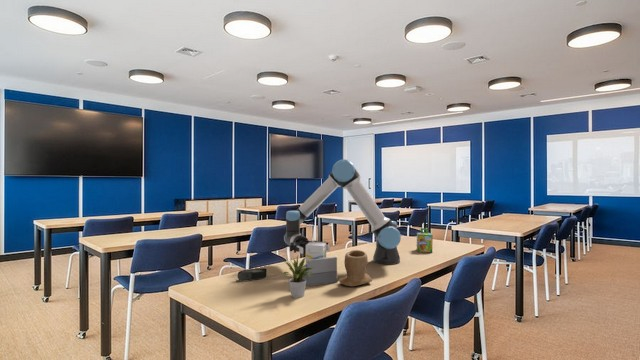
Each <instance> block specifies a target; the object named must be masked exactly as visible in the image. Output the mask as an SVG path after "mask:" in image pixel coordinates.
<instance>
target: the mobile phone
mask: <svg viewBox="0 0 640 360" xmlns="http://www.w3.org/2000/svg"><path fill="white" fill-rule="evenodd" d="M267 274H268V272H267V268H250V269H249V268H248V269H242V270H239V271H238V273H237V278H238V279H237V280H235V283H239V282H246V281H247V282H249V281H257V280H264V279H266V278H267V276H268V275H267Z"/></svg>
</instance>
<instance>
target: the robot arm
mask: <svg viewBox="0 0 640 360" xmlns="http://www.w3.org/2000/svg"><path fill="white" fill-rule="evenodd" d="M361 177H362V176H361V175H360V173H359V172H358V170H357V169H356V168H355V166H354V163H353V162H352V161H350V160H348V159H344V158H343V159H339V160H338V161H336V162H335V163H334V164H333V166H332V169H331V172H330V173H329V174H328V178H327V179H326V180H325V181H323V183H322V184H320V186H319V187H317V189H316V190H315V191H314V192H313V193H312V194H311V195H310V196H309V197H308V198H307V199H306V200H305V201H304V202H303V203H302V204H301V205H300V206H299V207H298V208H297V209H296V210H288V211H286V214H285V219H286V220H285V227H286V228H285V234H284V235H283V241H284V243H285V244H286V245H287V246H289V252H293V253H294V254H295V253H299V254H301V255H303V254H304V251H306V245H307V244H308V243H309V242H320V241H317V240H309V239H308V238H307V237H306V236H305V235H302V234H301V225H302V224H303V223H304V221H306V219H307V218H308V217H309V216H310V215H311V214H312V213H313V212H314V211H315V210H316V209H317V208H319V206H321V204H322V203H324V202H325V200H326V199H328V198H329V197H330V196H331V194H333V193H334V191H336V189H338V188H341V189H343V190H346V191H347V192H348V193H349V196H351V198H352V200H353V201H354V202H355V204H356V205H357V207H358V208H359V210H360V211H361V213H362V214H363V216H364V217H365V218H366V220H367V221H368V223H369V224H370V226H371V232H372V233H373V235H374V236H375V244H376V245H375V249H374V250H375V251H374V254H373V256H372V261H373V262H374V263H377V264H379V265H380V264H381V265H396V264H397V265H398V263H400V262H401V257H400V253H399V251H398V246H399V245H400V242H401V241H402V240H401V239H402V235H401V232H400V231H399V229H398V228H397V227H398V225H397V223H398V222H397V221H394V220H392V219H390V218H389V217H386V216H385V215H384V214H383V212H382V210H381V209H380V207H379V205H377V203H376V201H375V200H374V199H373V197H372V196H371V195H370V193H369V192H368V190H367V189H366V187H365V186H364V184H363V183H362V181H361ZM323 242H324V243H326V252H330V251H331V248H330V247H331V246H330V245H329V242H326V241H323Z"/></svg>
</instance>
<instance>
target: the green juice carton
mask: <svg viewBox="0 0 640 360" xmlns="http://www.w3.org/2000/svg"><path fill="white" fill-rule="evenodd" d="M433 239H434V238H433V234H432V233H431V232H429V229H428V228H427V227H425V228H424V227H421V228H420V232H416V251H417V253H430V254H431V253H433Z"/></svg>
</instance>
